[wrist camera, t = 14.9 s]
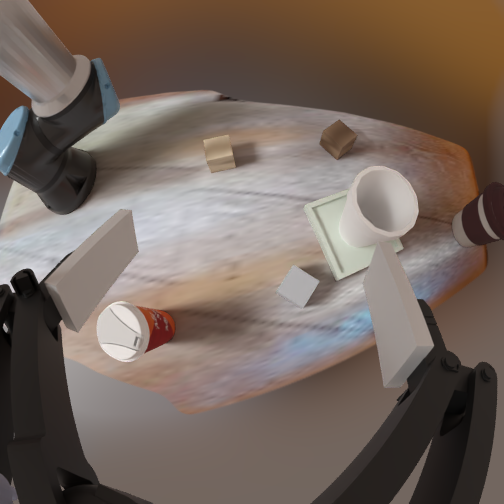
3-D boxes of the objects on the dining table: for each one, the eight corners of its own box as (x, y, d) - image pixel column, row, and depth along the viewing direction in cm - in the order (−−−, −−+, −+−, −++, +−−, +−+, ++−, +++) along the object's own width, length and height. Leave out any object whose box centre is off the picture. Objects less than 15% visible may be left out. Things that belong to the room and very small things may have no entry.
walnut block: (319, 144, 48) (323, 130, 43) (334, 133, 48) (339, 119, 44) (336, 160, 47) (342, 147, 42) (351, 148, 47) (357, 135, 43)
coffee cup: (474, 209, 43) (517, 183, 28) (481, 254, 41) (529, 237, 26) (442, 205, 44) (486, 173, 29) (449, 254, 42) (500, 234, 27)
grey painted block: (275, 292, 43) (276, 291, 38) (290, 268, 43) (293, 264, 39) (299, 308, 42) (303, 308, 38) (314, 284, 43) (319, 281, 38)
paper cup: (187, 313, 43) (152, 314, 29) (174, 356, 41) (136, 373, 28) (146, 297, 44) (101, 291, 30) (134, 338, 42) (87, 346, 29)
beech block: (208, 153, 49) (203, 140, 44) (231, 147, 48) (228, 134, 44) (211, 173, 48) (206, 161, 43) (235, 167, 48) (232, 154, 43)
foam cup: (390, 245, 42) (429, 222, 29) (344, 266, 42) (373, 248, 29) (366, 195, 44) (395, 158, 31) (320, 212, 44) (338, 176, 31)
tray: (303, 209, 45) (305, 204, 43) (366, 185, 45) (370, 180, 43) (335, 281, 42) (338, 279, 40) (398, 251, 43) (403, 248, 41)
